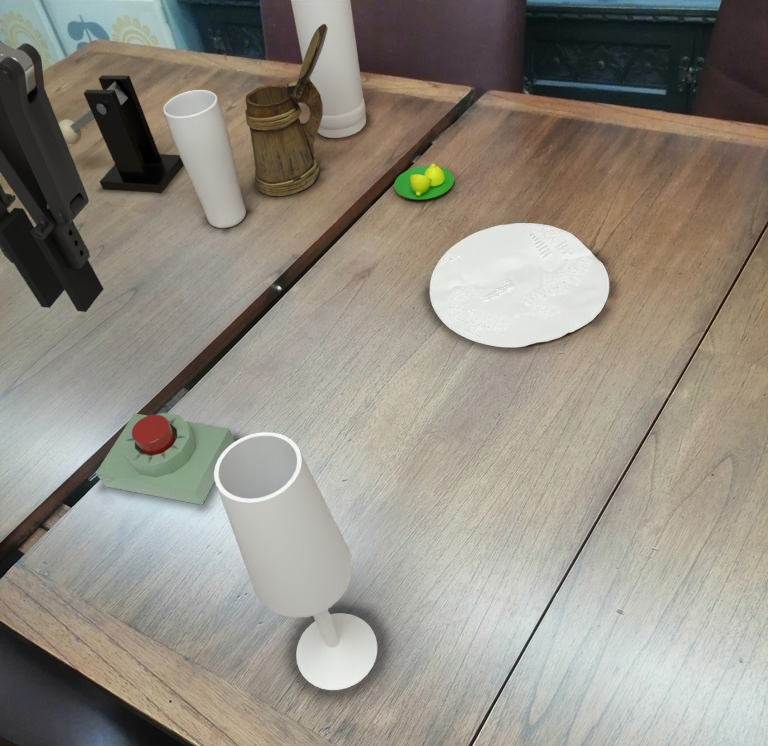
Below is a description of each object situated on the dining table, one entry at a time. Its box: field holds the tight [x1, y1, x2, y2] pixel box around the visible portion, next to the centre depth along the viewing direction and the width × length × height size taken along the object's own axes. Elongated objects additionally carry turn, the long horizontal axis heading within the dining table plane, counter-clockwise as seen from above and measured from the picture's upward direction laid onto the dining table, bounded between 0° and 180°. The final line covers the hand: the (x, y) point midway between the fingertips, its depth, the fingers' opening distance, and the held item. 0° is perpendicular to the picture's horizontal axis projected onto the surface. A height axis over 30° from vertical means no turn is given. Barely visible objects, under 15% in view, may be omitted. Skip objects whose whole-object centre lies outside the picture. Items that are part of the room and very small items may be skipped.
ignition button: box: [132, 414, 175, 455], centre depth 66 cm, size 4×4×2 cm
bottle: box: [290, 0, 367, 139], centre depth 93 cm, size 8×8×30 cm
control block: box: [95, 412, 236, 506], centre depth 68 cm, size 11×8×4 cm
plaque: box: [429, 222, 610, 348], centre depth 78 cm, size 20×20×2 cm
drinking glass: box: [162, 89, 247, 229], centre depth 88 cm, size 7×7×15 cm
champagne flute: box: [214, 431, 378, 691], centre depth 46 cm, size 7×7×24 cm
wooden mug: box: [244, 24, 328, 197], centre depth 91 cm, size 9×14×18 cm, turn 94°
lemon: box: [393, 163, 455, 200], centre depth 92 cm, size 8×8×3 cm
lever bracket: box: [83, 74, 184, 194], centre depth 98 cm, size 10×8×13 cm
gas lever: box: [58, 82, 128, 145], centre depth 98 cm, size 14×3×3 cm, turn 73°
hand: (72, 297), depth 53 cm, fingers open, 3 cm apart
